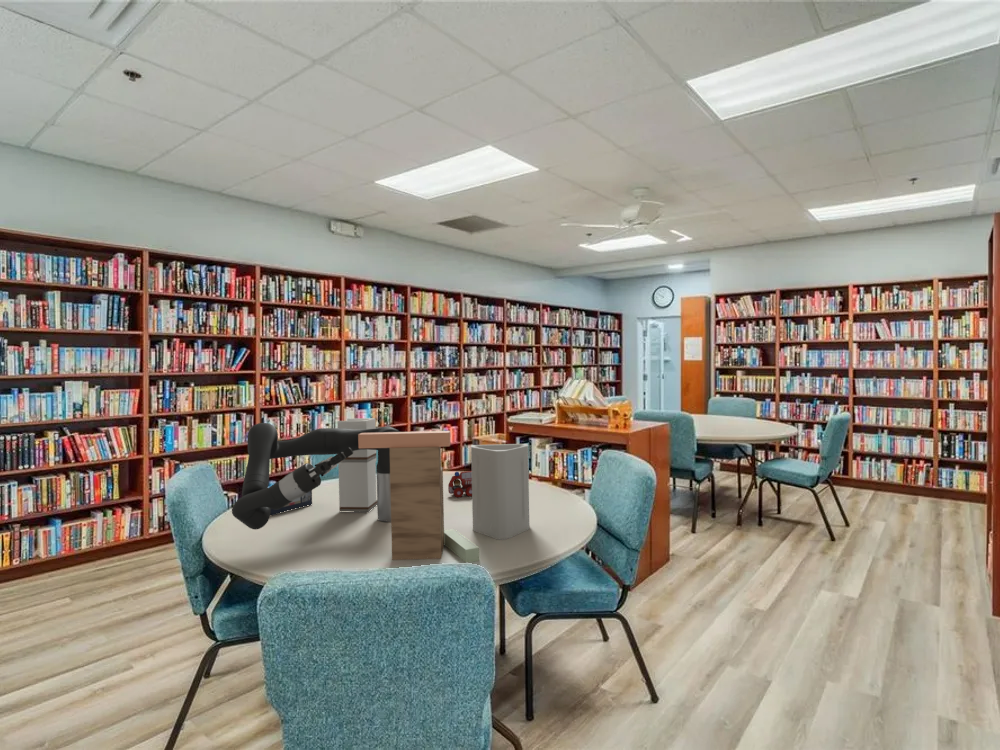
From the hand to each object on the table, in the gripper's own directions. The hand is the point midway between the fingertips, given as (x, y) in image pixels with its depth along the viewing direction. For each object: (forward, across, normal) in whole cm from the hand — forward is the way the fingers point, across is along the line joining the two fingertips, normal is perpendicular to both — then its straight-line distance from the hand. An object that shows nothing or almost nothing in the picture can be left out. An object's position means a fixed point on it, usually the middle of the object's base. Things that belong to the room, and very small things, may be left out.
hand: (347, 452), depth 156 cm
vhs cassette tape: (-48, -56, -7) cm, 75 cm away
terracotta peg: (+15, -1, -7) cm, 17 cm away
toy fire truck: (+9, -74, -41) cm, 85 cm away
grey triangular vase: (+22, -21, -49) cm, 58 cm away
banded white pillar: (-25, -56, -21) cm, 64 cm away
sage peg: (+11, -4, -43) cm, 44 cm away
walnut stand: (+1, -4, -36) cm, 37 cm away
